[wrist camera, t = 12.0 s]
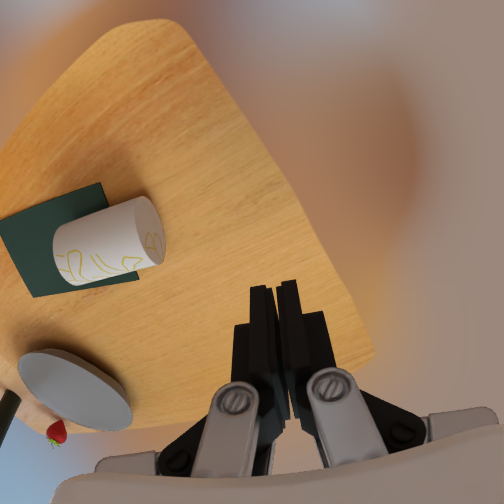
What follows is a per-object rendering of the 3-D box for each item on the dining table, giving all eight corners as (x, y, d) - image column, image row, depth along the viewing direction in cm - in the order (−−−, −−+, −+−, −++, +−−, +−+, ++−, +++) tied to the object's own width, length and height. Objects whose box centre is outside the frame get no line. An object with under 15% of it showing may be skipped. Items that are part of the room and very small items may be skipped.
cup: (167, 273, 38) (89, 293, 39) (163, 216, 41) (90, 239, 42) (135, 247, 30) (50, 273, 31) (135, 182, 34) (56, 213, 35)
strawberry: (75, 425, 70) (66, 453, 62) (63, 426, 72) (53, 452, 64) (60, 413, 68) (49, 441, 59) (48, 415, 70) (38, 442, 61)
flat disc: (101, 425, 68) (97, 438, 64) (14, 364, 58) (7, 376, 54) (162, 398, 59) (158, 415, 55) (49, 315, 49) (39, 332, 45)
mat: (-4, 222, 39) (-6, 223, 39) (100, 181, 37) (99, 182, 36) (34, 296, 47) (33, 297, 46) (139, 278, 44) (138, 280, 44)
